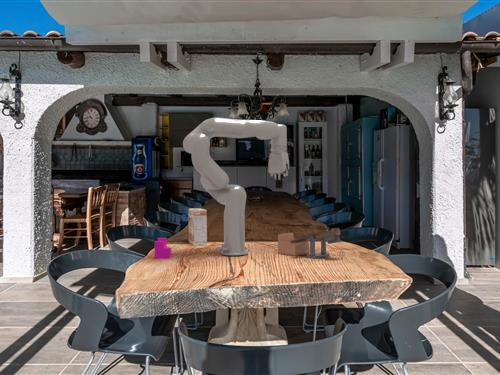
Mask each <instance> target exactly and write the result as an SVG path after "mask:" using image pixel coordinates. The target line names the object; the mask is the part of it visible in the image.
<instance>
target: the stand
mask: <svg viewBox="0 0 500 375" xmlns="http://www.w3.org/2000/svg"><path fill="white" fill-rule="evenodd" d="M309 243H310V254H305V256H306V259H311V260H318V259H324V258H327V257H328V258H329V257H330V256H331V255H330V254H331V253H327V237H326V238H321V239H320V252H316V240H315V236H310V241H309Z"/></svg>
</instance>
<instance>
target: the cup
mask: <svg viewBox="0 0 500 375" xmlns="http://www.w3.org/2000/svg"><path fill="white" fill-rule="evenodd" d="M293 240H295V237H294V232H287V233H286V232H285V233H278V234H277V247H278V248H277V254H278V255H283V256H290V257H300V256H304V255H305V256H306V255H309V253H310V242H309V241H306V242H299V243H290V241H293Z"/></svg>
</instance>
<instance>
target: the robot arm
mask: <svg viewBox="0 0 500 375" xmlns="http://www.w3.org/2000/svg"><path fill="white" fill-rule="evenodd" d="M287 130H288V129H287V126H286V125H285V124H281V123H280V124H279V123H276V122H274V121H270V120H258V119H240V118H239V119H237V118H228V117H227V118H226V117H217V116H216V117H210V118H208V119H205V120H204V121H202V122H201V123H200V124H198V125H197V127H195V128H194V129H193V130H192V131H190V133H188V134H187V135H186V136H185V138H184V139H183V142H182V146H183V149H184V151H185V152H186V153H188V154H191V162H192V165H193V168H194V169H195V171H197V172H198V174H200V179H199V180H200V181H199V182H200V184H201V185H202V186H201V187H202V188H203V189H204V190H205V191H206V192H207V193H208V194H209V195H210V196H211V197H212V198H213V199H214V200H215V201H217V202H218V203H219V204H220V205H224V206H225V207H224V211H223V244H222V245H221V246H217V247H215V251H216V252H220V254H221V255H224V256H244V255H248V254H249V251H248V250H246V247H245V246H246V245H245V244H246V239H245V238H246V236H245V235H246V234H245V233H246V232H245V230H246V229H245V228H246V224H245V223H246V222H245V220H246V219H245V212H246V210H245V209H246V202H247V192H246V190H245V188H244V187H242V186H241V185H239V184H229V182H230V178H229V176H228V174H227V172H225V170H223V169H222V168H221V167H220V166H219V164H217V163H216V161H215V160H214V159H213V158H212V157H211V154H210V153H211V152H210V145H211V141H210V140H211V139H212V138H214V137H218V138H219V137H220V138H232V139H245V138H255V137H256V139H258V140H270V142H271V143H270V144H271V145H270V149H269V151H270V153H269V157H268V165H267V166H268V167H267V168H268V170H267V171H268V174H269V176H270V177H273V178H274V180H275V189H283V185H284V183H283V182H284V179H285V177H287V176H289V172H290V160H289V159H290V158H289V154H288V145H287V144H288V143H287V140H288V139H287V137H288V136H287Z"/></svg>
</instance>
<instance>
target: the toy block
mask: <svg viewBox="0 0 500 375" xmlns="http://www.w3.org/2000/svg"><path fill="white" fill-rule="evenodd" d="M167 239H168V238H167V237H157V240H155V241H154V260H169V259H170V258H171V256H172V247H167V243H168V242H167V241H168V240H167Z"/></svg>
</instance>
